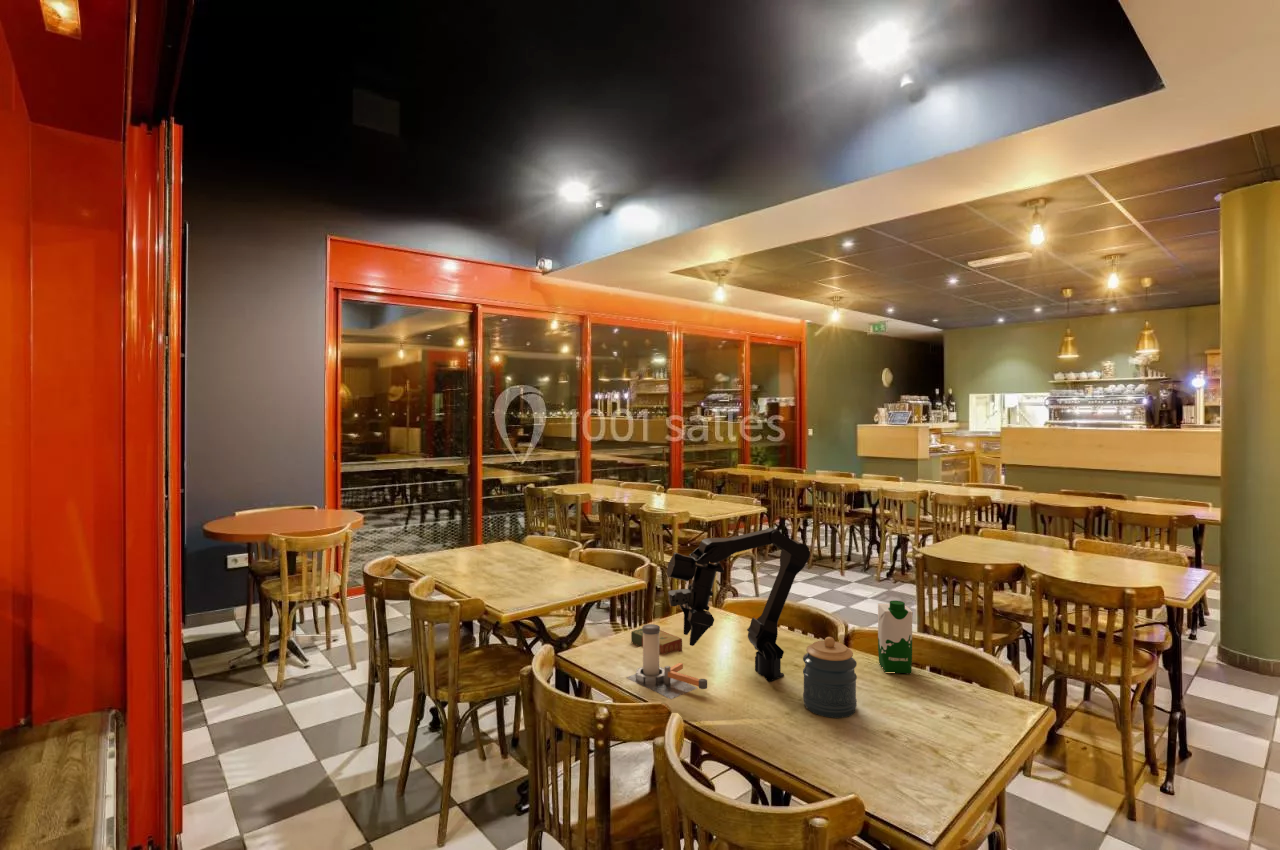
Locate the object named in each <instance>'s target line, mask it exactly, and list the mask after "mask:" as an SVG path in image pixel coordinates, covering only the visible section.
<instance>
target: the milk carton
mask: <svg viewBox="0 0 1280 850" xmlns="http://www.w3.org/2000/svg"><path fill="white" fill-rule="evenodd" d="M913 613H914V612H913V611H912V610H911V609H910V608H909V606H906V604H905V602H904V601H901V600H890V601H889V603H877V619H878V620H877V651H878V664H879V663H880V664H879V666H880V665H881V666H882V667H883V669H884V670H885V671H884V670H883V669H882V670H883V671H884V673H885V672H895V673H911V674H912V670H913V669H912V666H913V665H912V664H913ZM881 666H880V667H881ZM882 667H881V668H882Z"/></svg>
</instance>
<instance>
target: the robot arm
mask: <svg viewBox="0 0 1280 850" xmlns="http://www.w3.org/2000/svg"><path fill="white" fill-rule="evenodd" d="M770 545H773V546H775V547H777V549H779V550H780V554H779V570H778V572H777V575H776V578H775V581H774V583H773V585H772V588H771V591H770V593H769V595H768V598H767V600H766V603H765V605H764V607H763V611H762V613H761V614H760V616H759V617H758V618H755V617H752V618H751V620H750V625H749V627H748V628H747V629H746V631H747V632H748V633H747V638H748V641H749V642H750V644H751V645H753V647H754V649H755V650H756V651H755V657H754V671H755V672H757V673H758V675H759V676H761V677H764V679H765V680H766V681H767V682H774V681H775V680H777V679H779V678H782V677H784V676H785V673H783V672H781V668H782V666H781V665H782V663H781V659H783V657H784V654H785V652H784V649H782V648H781V647H780V646H779V645H778V644H777V639H778V635H779V634H778V623H779V619H780V617H781V614H782V612H783V610H784V607H785V605H786V602H787V599H788V597H789V594H790V591H791V589H792V587H793V584H794V582H795V581H794V580H795V579H796V576H797V575H798V574H799V573H800V572H801V571H802V570H803V569H804V568H805V566H806V565H807V562H809V560H810V557H811V550H810V548H809V547H808V545H806V544H804V543H802V542H800V541H798V540H796V539H791V538H789V537H788V536H786V535H784V533H782V532H781V531H780V530H779V529H777V528H774V527H768V528H765V529H762V530H758V531H753V532H749V533H746V534H741V535H736V536H732V537H705V538H704V539H702V540H701V541H700V543H699V545H698V547H696V548H695V550H693V551H692V552H691V553H690V554H688V555H686V554H681V553H680V552H679V553H678V552H673V555H672V556H671V558H670V559H669V561H668V563H667V567H666V575H667V577H668V578H671V579H675V580H680V581H685V582H689V581H690V580H692V582H691V583H689V584H688V586H687V588H681V589H672V590H668V592H667V593H668V594H667V595H668V603H669V606H671V607H677V606H679V607H680V609H681V611H682V612H683V635H685V636H687V635H688V634H690V635H689V636H690V637H689V645H690V646H692V647H694V646H695V645H696V644H697V642H698V641H699V640H700V639H701V638H702V636H703V635H704V634H705V633H706V632H707V631H708V629H710V628H711V627H713V625H714V622H715V618H714V616H713V614H712V613H711V612H710V605H709V603H710V599H711V597H713V595H714V592H713V591H712V590H713V587H714V582H715V579H716V575H717V572H718V573H721V574H724V573H725V569H723V567H722V564H721V563H720V562H721V561H724V560H726V559H728V558H729V557H731V556H733V555H734V554H736V553H741V552H744V551H748V550H753V549H757V548H761V547H764V546H770Z"/></svg>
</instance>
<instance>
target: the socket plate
mask: <svg viewBox="0 0 1280 850" xmlns="http://www.w3.org/2000/svg"><path fill="white" fill-rule="evenodd" d="M625 678H626V679H628V680H630V681H632V682H634V683H636V684H638V685H641V686H642V687H645V688H646V689H649V690H650V691H653V692H655V693H657V694H659V695H661V696H663V697H666V698H667V699H670V700H673V699H675V698H677V697H679V696H682V695H684V694H687V693H690V692H692V691H694V690H697V689H698V686H696V685H692V684H689V683H686V682H683V681H679V680H676V679H673V678H670V684H669V685H667V684H665V667H662V666H661V665H659V675H657V676H645V675H643V666H641V667H640V666H639V667H637V669H636V670H635V674H632V675H629V676H626V677H625Z"/></svg>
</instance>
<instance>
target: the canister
mask: <svg viewBox="0 0 1280 850" xmlns="http://www.w3.org/2000/svg"><path fill="white" fill-rule="evenodd" d="M805 650H806V653H805V654H804V655H803V656H802V661H803V662H804V665H805V666H804V667H803V670H802V674H803V694H802V700H803V705H804V707H805V708H806V709H807V710H808V711H810V712H811V713H813V714H816V715H818V716H821V717H826V718H836V719H839V718H841V719H842V718H847V717H849V716H852V715H854V714H855V712H856V709H857V704H858V703H857V702H858V701H857V678H858V677H857V673H856V672H855V669H856V668H857V665H858V662H857V660H856V659H855V658H854V657H853V656H854V652H853V651H852V649H851V648H849V647H847V646H846V644H843V643H841V642H839V641H835V639H834V638H833V637H832V636H827V637H825V639H824V640H817V641H814V642H812V644H809V645H807V647H806V649H805Z"/></svg>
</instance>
